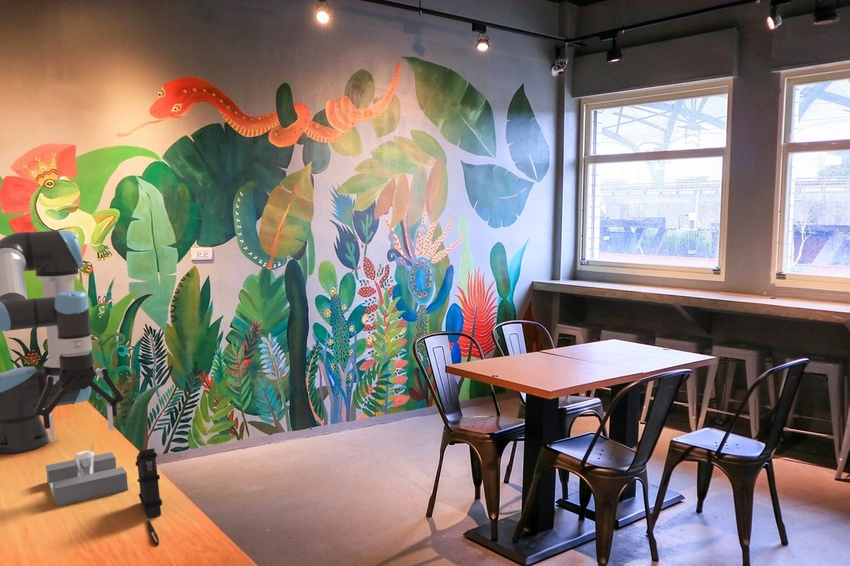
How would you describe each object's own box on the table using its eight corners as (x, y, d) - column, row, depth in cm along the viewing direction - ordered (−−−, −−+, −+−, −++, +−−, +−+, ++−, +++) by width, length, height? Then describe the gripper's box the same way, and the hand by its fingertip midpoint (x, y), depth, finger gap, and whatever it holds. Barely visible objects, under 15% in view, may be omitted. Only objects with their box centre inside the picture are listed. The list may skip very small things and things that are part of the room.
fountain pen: (144, 522, 158) (143, 515, 158) (149, 520, 159) (149, 514, 159) (155, 548, 146) (154, 541, 146) (161, 546, 146) (160, 539, 146)
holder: (47, 482, 183) (45, 465, 182) (112, 467, 192) (111, 452, 191) (57, 506, 167) (55, 488, 167) (127, 489, 176) (126, 472, 176)
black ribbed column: (147, 517, 156) (138, 450, 160) (141, 521, 167) (134, 459, 171) (164, 513, 158) (156, 447, 162) (158, 518, 169) (150, 456, 173)
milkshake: (103, 482, 182) (99, 445, 181) (87, 490, 177) (83, 452, 176) (89, 480, 183) (85, 443, 182) (73, 488, 178) (69, 450, 177)
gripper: (20, 363, 166) (28, 449, 168) (131, 348, 180) (137, 428, 182) (17, 357, 172) (25, 440, 175) (125, 344, 186) (130, 421, 189)
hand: (82, 434), depth 178 cm, fingers open, 13 cm apart
